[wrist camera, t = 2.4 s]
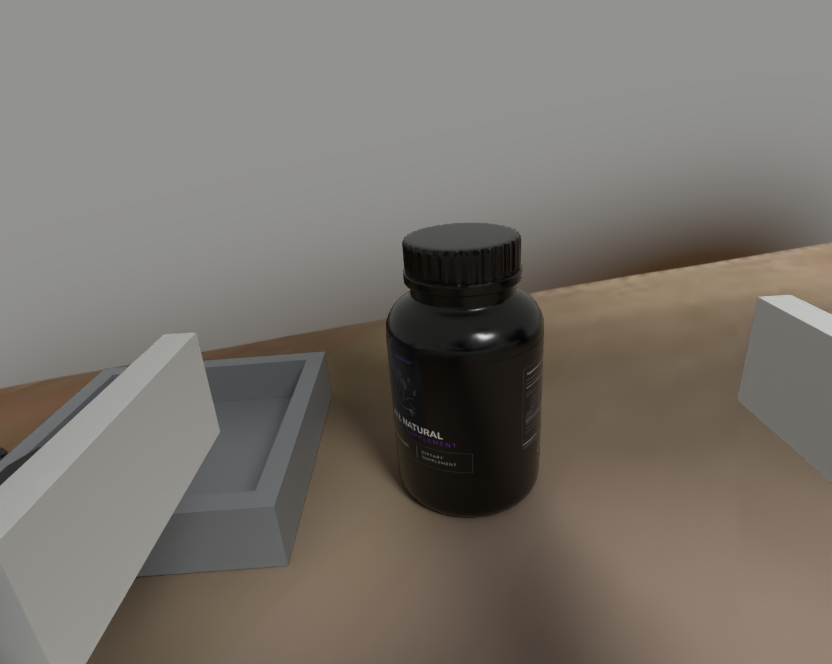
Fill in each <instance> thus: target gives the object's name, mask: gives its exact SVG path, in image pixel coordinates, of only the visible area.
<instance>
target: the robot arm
mask: <svg viewBox="0 0 832 664" xmlns="http://www.w3.org/2000/svg"><path fill="white" fill-rule="evenodd" d="M737 400H738V401H739V402H740V403H741V404H742V405H743V406H744V407H746V408H747V409H748V410H749V411H750V412H751V413H752V414H753V415H755V416H756V417H757V418H758V419H759V420H760V421H761V422H763V423H764V424H765V425H766V426H767V427H768V428H769V429H771V430H772V431H773V432H774V433H775V434H776V435H777V436H778V437H780V438H781V439H782V440H783V441H784V442H785V443H786V444H788V445H789V446H790V447H791V448H792V449H793V450H794V451H795V452H797V453H798V454H799V455H800V456H801V457H802V458H803V459H805V460H806V461H807V462H808V463H809V464H810V465H811V466H813V467H814V468H815V469H816V470H817V471H818V472H819V473H820V474H822V475H823V476H824V477H825V478H826V479H827V480H828V481H830V482H831V483H832V314H829V313H827V312H825V311H823V310H821V309H819V308H817V307H815V306H813V305H811V304H809V303H807V302H805V301H803V300H801V299H798V298H796V297H794V296H792V295H779V296H763V297H758V298H757V303H756V308H755V313H754V318H753V323H752V328H751V333H750V338H749V343H748V348H747V353H746V358H745V363H744V368H743V373H742V378H741V383H740V388H739V393H738V398H737ZM219 433H220V429H219V425H218V421H217V416H216V412H215V408H214V404H213V400H212V396H211V391H210V387H209V383H208V379H207V375H206V371H205V367H204V362H203V358H202V354H201V350H200V347H199V342H198V338H197V333H196V332H193V333H176V334H164V335H163V336H161V338H159V339H158V340H157V341H156V342H155V343H154V344H153V345H152V346H151V347H150V348H149V349H147V350H146V351H145V352H144V353H143V354H142V355H141V356H140V357H139V358H138V359H137V360H136V361H134V362H133V363H132V364H131V365H130V366H129V367H128V368H127V369H126V370H125V371H124V372H123V373H121V374H120V375H119V376H118V377H117V378H116V379H115V380H114V381H113V382H112V383H111V384H110V385H109V386H107V387H106V388H105V389H104V390H103V391H102V392H101V393H100V394H99V395H98V396H97V397H96V398H94V399H93V400H92V401H91V402H90V403H89V404H88V405H87V406H86V407H85V408H84V409H83V410H81V411H80V412H79V413H78V414H77V415H76V416H75V417H74V418H73V419H72V420H71V421H70V422H69V423H67V424H66V425H65V426H64V427H63V428H62V429H61V430H60V431H59V432H58V433H57V434H56V435H54V436H53V437H52V438H51V439H50V440H49V441H48V442H47V443H46V444H45V445H44V446H43V447H38V448H36V449H35V450H33V451H31V452H30V453H28V454H26V455H25V456H23V457H21V458H19V459H18V460H16V461H14V462H13V463H11V464H9V465H8V466H7V467H5V468H4V469H3V470H2V471H1V472H0V664H86V663H87V661H88V659H89V657H90V656H91V654H92V652H93V651H94V649H95V647H96V645H97V644H98V642H99V640H100V638H101V637H102V635H103V633H104V632H105V630H106V628H107V626H108V625H109V623H110V621H111V619H112V618H113V616H114V614H115V613H116V611H117V609H118V607H119V606H120V604H121V602H122V601H123V599H124V597H125V595H126V594H127V592H128V590H129V588H130V587H131V585H132V583H133V582H134V580H135V578H136V576H137V575H138V573H139V571H140V569H141V568H142V566H143V564H144V563H145V561H146V559H147V557H148V556H149V554H150V552H151V550H152V549H153V547H154V545H155V544H156V542H157V540H158V538H159V537H160V535H161V533H162V531H163V530H164V528H165V526H166V525H167V523H168V521H169V519H170V518H171V516H172V514H173V512H174V511H175V509H176V507H177V506H178V504H179V502H180V500H181V499H182V497H183V495H184V493H185V492H186V490H187V488H188V487H189V485H190V483H191V481H192V480H193V478H194V476H195V474H196V473H197V471H198V469H199V468H200V466H201V464H202V462H203V461H204V459H205V457H206V455H207V454H208V452H209V450H210V449H211V447H212V445H213V443H214V442H215V440H216V438H217V436H218V435H219Z"/></svg>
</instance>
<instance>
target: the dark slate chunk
mask: <svg viewBox="0 0 832 664" xmlns="http://www.w3.org/2000/svg"><path fill="white" fill-rule="evenodd" d="M5 452H6V450H4V449H2V448H0V459H1V456H2V455H3V454H5Z"/></svg>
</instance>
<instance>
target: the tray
mask: <svg viewBox="0 0 832 664" xmlns="http://www.w3.org/2000/svg"><path fill="white" fill-rule="evenodd" d="M203 362H204V367H205V371H206V375H207V379H208V383H209V387H210V391H211V396H212V400H213V404H214V408H215V412H216V416H217V421H218V425H219V429H220V433H219V435H218V436H217V438H216V440H215V442H214V443H213V445H212V447H211V449H210V450H209V452H208V454H207V455H206V457H205V459H204V461H203V462H202V464H201V466H200V468H199V469H198V471H197V473H196V474H195V476H194V478H193V480H192V481H191V483H190V485H189V487H188V488H187V490H186V492H185V493H184V495H183V497H182V499H181V500H180V502H179V504H178V506H177V507H176V509H175V511H174V512H173V514H172V516H171V518H170V519H169V521H168V523H167V525H166V526H165V528H164V530H163V531H162V533H161V535H160V537H159V538H158V540H157V542H156V544H155V545H154V547H153V549H152V550H151V552H150V554H149V556H148V557H147V559H146V561H145V563H144V564H143V566H142V568H141V569H140V571H139V573H138V575H137V576H136V577H139V576H153V575H167V574H181V573H195V572H209V571H223V570H237V569H251V568H265V567H279V566H288V564H289V560H290V556H291V552H292V548H293V545H294V541H295V537H296V533H297V529H298V525H299V521H300V517H301V513H302V509H303V506H304V502H305V498H306V494H307V490H308V486H309V482H310V478H311V474H312V471H313V467H314V463H315V459H316V455H317V451H318V447H319V443H320V439H321V435H322V432H323V428H324V424H325V420H326V416H327V412H328V408H329V404H330V400H331V397H332V391H331V384H330V378H329V372H328V366H327V360H326V353H325V351H323V352H310V353H298V354H285V355H272V356H259V357H246V358H234V359H221V360H208V361H203ZM127 368H128V367H118V368H106V369H104V370H103V371H102V372H101V373H100V374H98V375H97V376H96V377H95V378H94V379H93V380H92V381H91V382H89V383H88V384H87V385H86V386H85V387H84V388H83V389H81V390H80V391H79V392H78V393H77V394H76V395H75V396H73V397H72V398H71V399H70V400H69V401H68V402H67V403H65V404H64V405H63V406H62V407H61V408H60V409H59V410H57V411H56V412H55V413H54V414H53V415H52V416H51V417H50V418H48V419H47V420H46V421H45V422H44V423H43V424H42V425H40V426H39V427H38V428H37V429H36V430H35V431H34V432H32V433H31V434H30V435H29V436H28V437H27V438H26V439H24V440H23V441H22V442H21V443H20V444H19V445H18V446H17V447H15V448H14V449H13V450H12V451H11V452H10V453H9V454H7V455H6V456H5V457H4V458H3V459H2V460H1V461H0V472H1V471H2V470H3V469H4V468H5V467H7V466H8V465H9V464H11V463H13V462H14V461H16V460H18V459H19V458H21V457H23V456H25V455H26V454H28V453H30V452H31V451H33V450H35V449H36V448H38V447H43V446H44V445H45V444H46V443H47V442H48V441H49V440H50V439H51V438H52V437H53V436H54V435H56V434H57V433H58V432H59V431H60V430H61V429H62V428H63V427H64V426H65V425H66V424H67V423H69V422H70V421H71V420H72V419H73V418H74V417H75V416H76V415H77V414H78V413H79V412H80V411H81V410H83V409H84V408H85V407H86V406H87V405H88V404H89V403H90V402H91V401H92V400H93V399H94V398H96V397H97V396H98V395H99V394H100V393H101V392H102V391H103V390H104V389H105V388H106V387H107V386H109V385H110V384H111V383H112V382H113V381H114V380H115V379H116V378H117V377H118V376H119V375H120V374H121V373H123V372H124V371H125V370H126V369H127Z"/></svg>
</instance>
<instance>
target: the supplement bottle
mask: <svg viewBox="0 0 832 664" xmlns="http://www.w3.org/2000/svg"><path fill="white" fill-rule="evenodd" d="M402 246H403V260H404V269H403V278H404V283H405V285H406V286H407V287H408V288H409V289H410V291H408V292H407V293H405V294H404V295H403V296H402V297H400V298H399V299H398V300H397V301H396V302H395V304H394V305H393V307H392V308H391V310H390V312H389V314H388V317H387V321H386V340H387V350H388V360H389V371H390V381H391V391H392V402H393V412H394V422H395V433H396V443H397V453H398V461H399V470H400V474H401V478H402V481H403V483H404V485H405V487H406V489H407V490H408V491H409V493H410V494H411V495H412V496H413V497H414V498H415V499H416V500H418V501H419V502H420V503H422V504H423V505H425V506H426V507H428V508H430V509H432V510H434V511H437V512H440V513H443V514H447V515H451V516H457V517H483V516H488V515H493V514H497V513H500V512H503V511H505V510H507V509H509V508H511V507H513V506H515V505H516V504H518V503H519V502H520V501H522V500H523V499H524V498H525V497H526V496H527V495H528V494H529V493H530V491H531V490H532V488H533V486H534V485H535V482H536V480H537V476H538V470H539V455H540V429H541V401H542V373H543V345H544V319H543V315H542V312H541V310H540V308H539V306H538V304H537V303H536V302H535V300H534V299H533V298H532V297H531V296H530V295H529V294H528V293H526V292H525V291H523V290H522V289H520V288H518V287H517V286H516V284H517V283H519V282H520V281H521V279H522V264H521V236H520V234H519V232H518V231H516V229H512V228H511V227H506V226H504V225H497V224H489V223H453V224H444V225H436V226H432V227H426V228H423V229H419V230H417V231H413V232H411V233H410V234H407V236H405V237H404V240H403V243H402Z"/></svg>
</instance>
